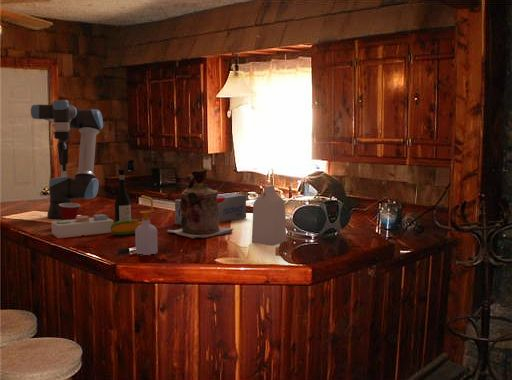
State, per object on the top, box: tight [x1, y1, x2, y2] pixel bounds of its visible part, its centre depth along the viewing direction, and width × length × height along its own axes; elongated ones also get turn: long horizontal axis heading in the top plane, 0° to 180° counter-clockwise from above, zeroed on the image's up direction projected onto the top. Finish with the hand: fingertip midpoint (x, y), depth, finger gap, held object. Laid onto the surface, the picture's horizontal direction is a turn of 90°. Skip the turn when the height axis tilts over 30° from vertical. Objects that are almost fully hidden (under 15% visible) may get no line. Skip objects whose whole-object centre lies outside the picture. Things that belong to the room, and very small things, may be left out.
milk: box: [251, 184, 287, 247], centre depth 259 cm, size 12×12×26 cm
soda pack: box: [174, 192, 247, 226], centre depth 313 cm, size 41×13×14 cm, turn 131°
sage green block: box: [56, 219, 71, 224], centre depth 275 cm, size 5×5×5 cm
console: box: [50, 217, 115, 239], centre depth 280 cm, size 13×27×6 cm, turn 122°
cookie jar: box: [166, 168, 234, 239], centre depth 279 cm, size 25×25×32 cm
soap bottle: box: [134, 194, 159, 256], centre depth 237 cm, size 9×9×25 cm
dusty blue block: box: [93, 213, 108, 221], centre depth 285 cm, size 5×5×5 cm
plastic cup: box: [59, 202, 81, 220], centre depth 296 cm, size 11×11×12 cm
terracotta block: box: [76, 215, 90, 222], centre depth 280 cm, size 5×5×5 cm
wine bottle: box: [114, 168, 132, 223], centre depth 297 cm, size 8×8×30 cm
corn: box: [111, 218, 142, 236], centre depth 278 cm, size 7×8×20 cm
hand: (64, 177), depth 289 cm, fingers closed
